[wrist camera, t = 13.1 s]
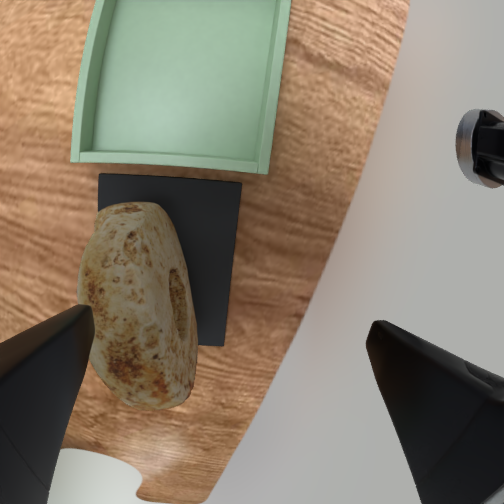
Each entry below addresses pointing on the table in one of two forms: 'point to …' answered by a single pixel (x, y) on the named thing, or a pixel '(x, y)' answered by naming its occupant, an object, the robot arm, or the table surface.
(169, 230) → the beige oval piece
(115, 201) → the mat
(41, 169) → the table surface
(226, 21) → the tray
